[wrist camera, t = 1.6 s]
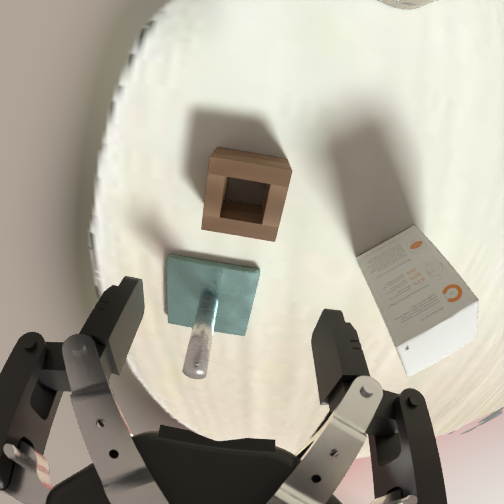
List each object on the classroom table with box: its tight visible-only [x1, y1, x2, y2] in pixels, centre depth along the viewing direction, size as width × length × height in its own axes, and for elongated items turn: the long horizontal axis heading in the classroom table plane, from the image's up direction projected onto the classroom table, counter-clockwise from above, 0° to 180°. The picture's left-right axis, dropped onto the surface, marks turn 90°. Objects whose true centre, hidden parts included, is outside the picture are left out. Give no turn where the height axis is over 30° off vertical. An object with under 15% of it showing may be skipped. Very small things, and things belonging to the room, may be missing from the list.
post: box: [167, 254, 260, 379], centre depth 28 cm, size 10×10×11 cm
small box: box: [356, 225, 479, 377], centre depth 24 cm, size 8×6×13 cm
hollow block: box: [201, 147, 292, 242], centre depth 24 cm, size 6×6×4 cm
